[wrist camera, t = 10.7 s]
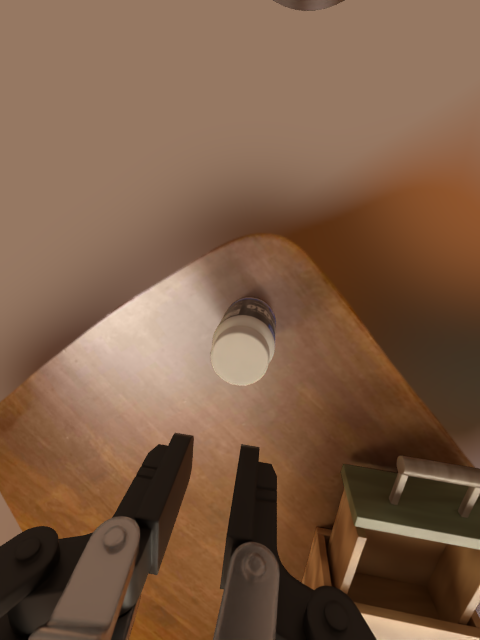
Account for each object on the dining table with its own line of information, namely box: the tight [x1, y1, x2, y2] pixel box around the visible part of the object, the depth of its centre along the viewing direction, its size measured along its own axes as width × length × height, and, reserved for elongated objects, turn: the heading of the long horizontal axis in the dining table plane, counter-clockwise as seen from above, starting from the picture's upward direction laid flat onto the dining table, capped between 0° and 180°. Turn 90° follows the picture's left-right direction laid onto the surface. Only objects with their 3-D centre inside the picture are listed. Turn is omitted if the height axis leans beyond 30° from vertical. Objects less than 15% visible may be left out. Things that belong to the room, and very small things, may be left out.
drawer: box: [326, 455, 480, 625], centre depth 29 cm, size 19×13×6 cm
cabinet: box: [302, 527, 480, 640], centre depth 33 cm, size 16×15×8 cm
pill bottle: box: [211, 297, 276, 385], centre depth 24 cm, size 5×5×8 cm
